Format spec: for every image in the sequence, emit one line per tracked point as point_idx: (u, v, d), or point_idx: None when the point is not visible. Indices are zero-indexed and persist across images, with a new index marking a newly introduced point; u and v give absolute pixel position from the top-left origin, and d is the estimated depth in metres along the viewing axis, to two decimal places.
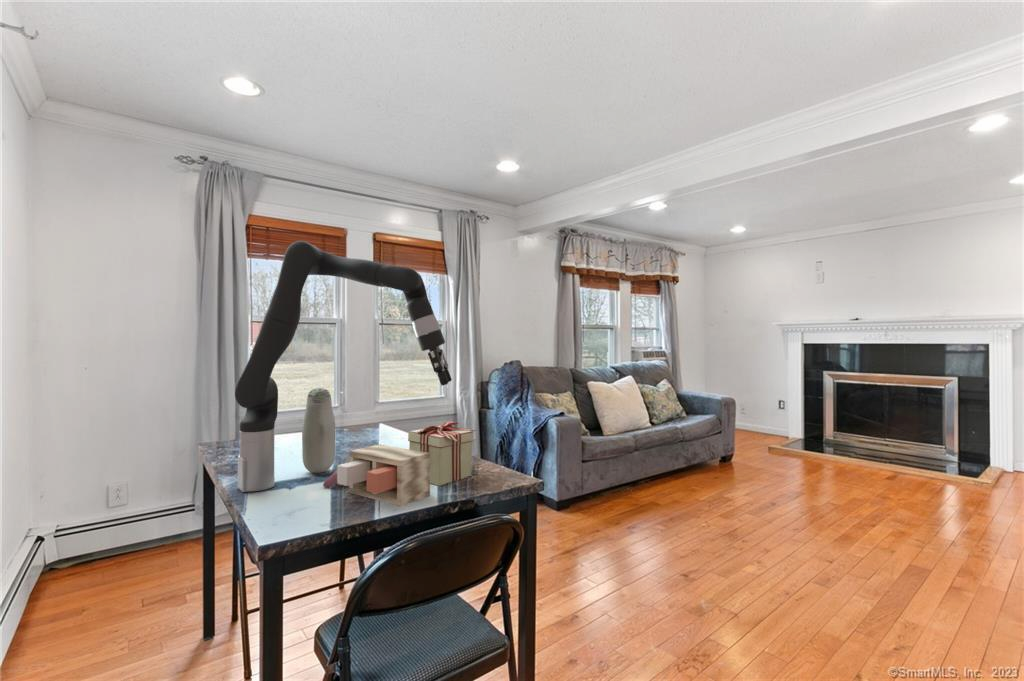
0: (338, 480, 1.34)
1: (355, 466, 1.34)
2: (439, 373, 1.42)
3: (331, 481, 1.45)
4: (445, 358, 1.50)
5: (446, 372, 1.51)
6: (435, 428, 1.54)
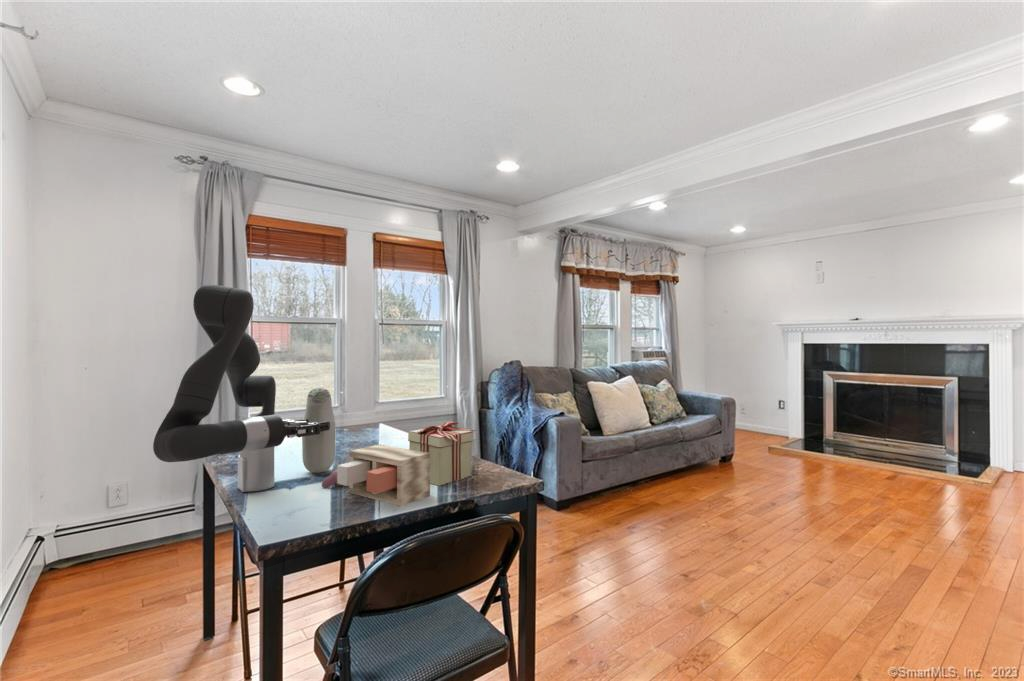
0: (338, 480, 1.34)
1: (355, 466, 1.34)
2: None
3: (329, 480, 1.45)
4: None
5: None
6: (435, 428, 1.54)
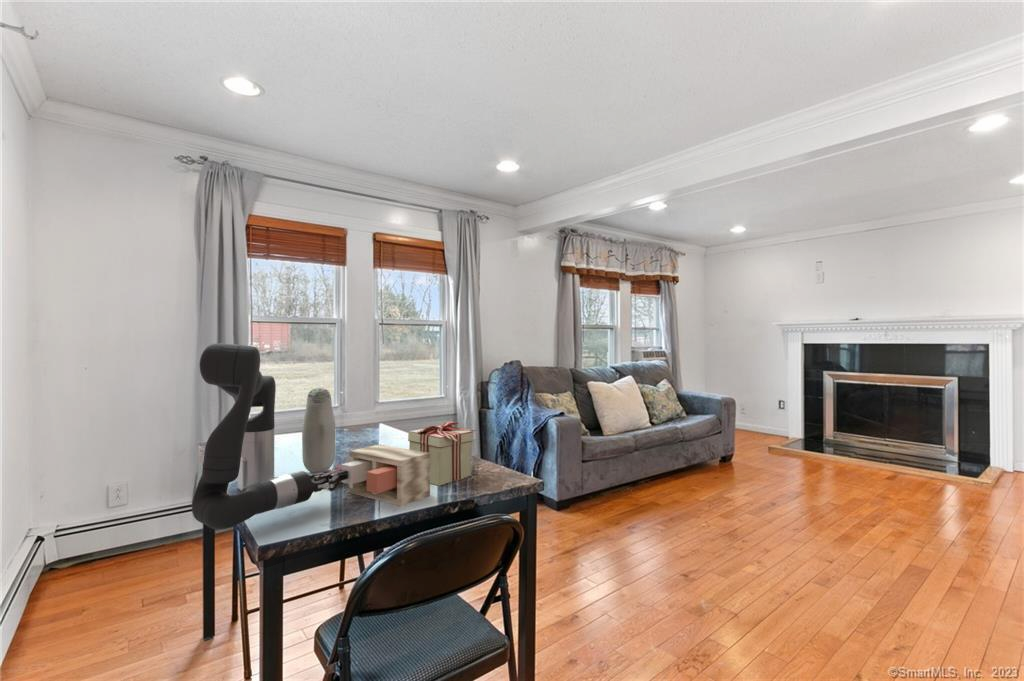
0: None
1: (359, 465, 1.36)
2: None
3: None
4: None
5: None
6: (435, 428, 1.54)
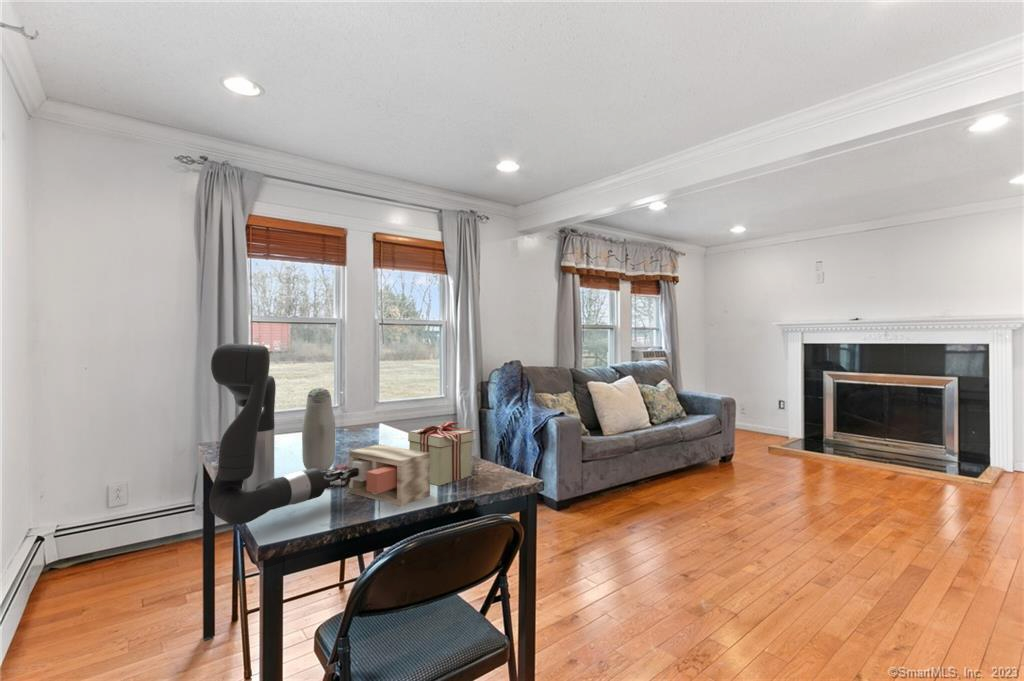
0: None
1: (369, 462, 1.39)
2: None
3: None
4: (338, 484, 1.30)
5: None
6: (435, 428, 1.54)
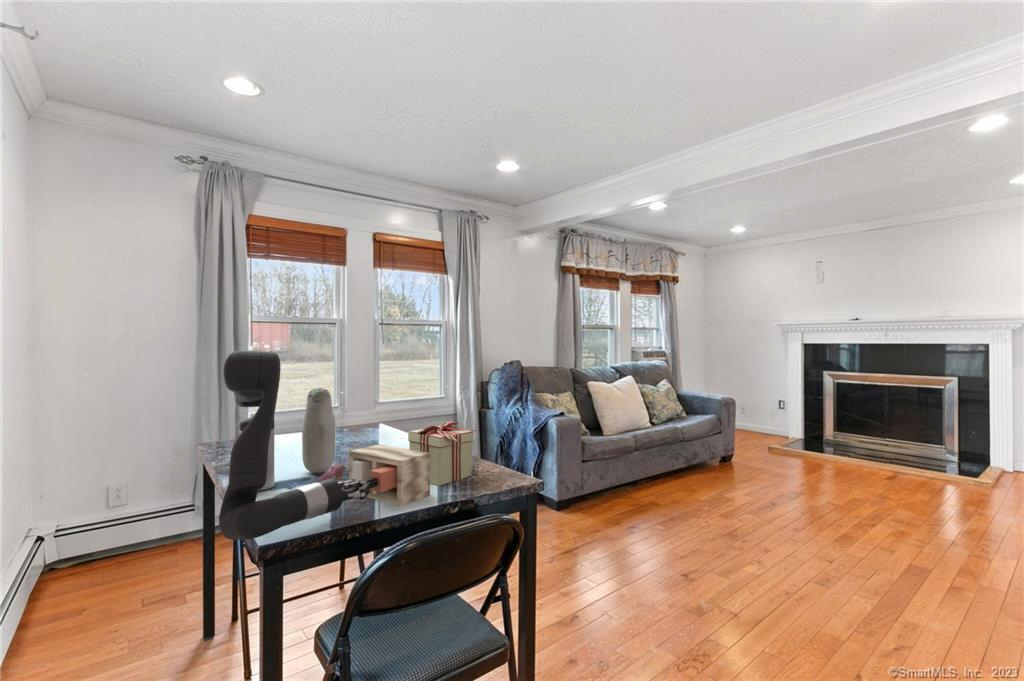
0: (353, 476, 1.38)
1: (370, 462, 1.39)
2: None
3: (322, 480, 1.45)
4: None
5: None
6: (435, 428, 1.54)
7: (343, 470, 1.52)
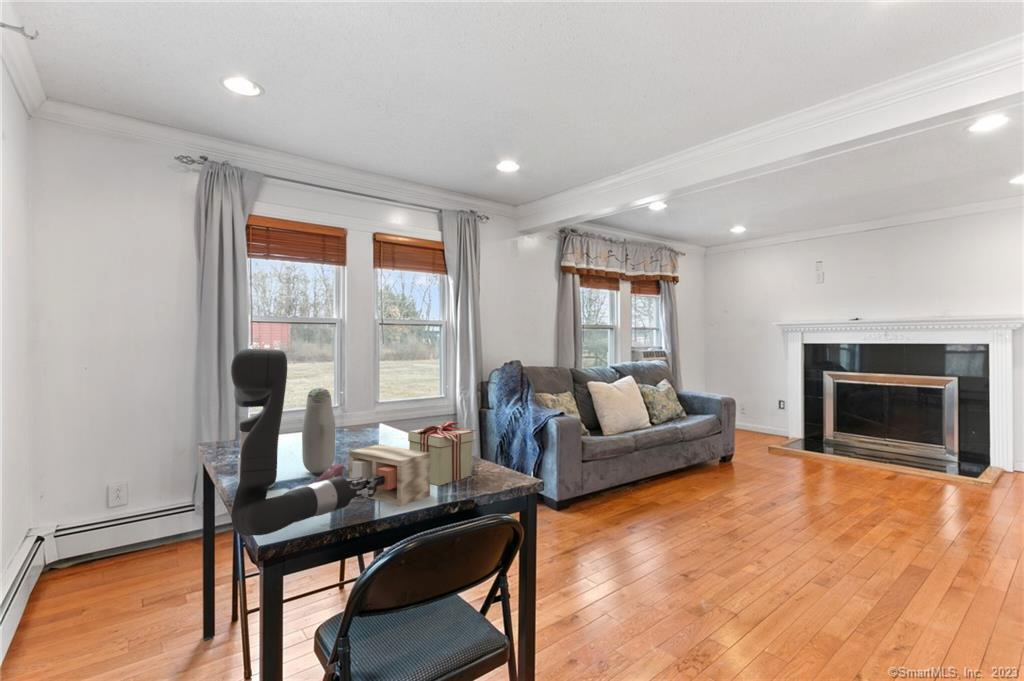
0: (353, 476, 1.38)
1: (370, 462, 1.39)
2: None
3: (322, 480, 1.45)
4: None
5: None
6: (435, 428, 1.54)
7: (342, 470, 1.52)
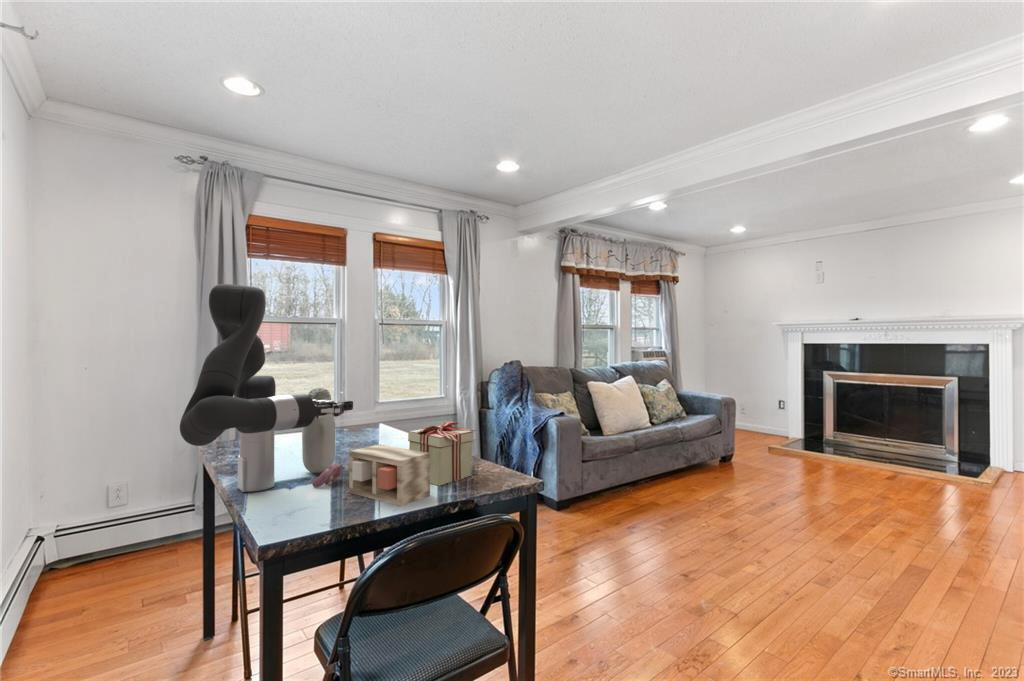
0: (353, 476, 1.38)
1: (370, 462, 1.39)
2: None
3: (320, 480, 1.45)
4: (330, 415, 1.14)
5: None
6: (435, 428, 1.54)
7: (341, 470, 1.52)
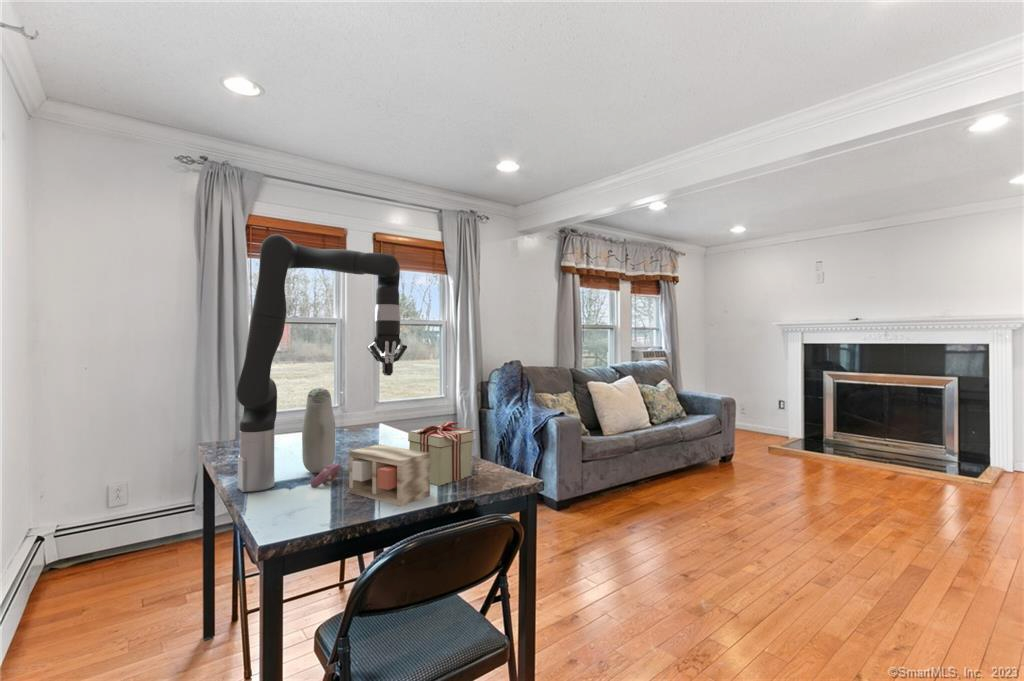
0: (353, 476, 1.38)
1: (370, 462, 1.39)
2: (382, 363, 1.51)
3: (318, 480, 1.45)
4: None
5: None
6: (435, 428, 1.54)
7: (339, 470, 1.52)
